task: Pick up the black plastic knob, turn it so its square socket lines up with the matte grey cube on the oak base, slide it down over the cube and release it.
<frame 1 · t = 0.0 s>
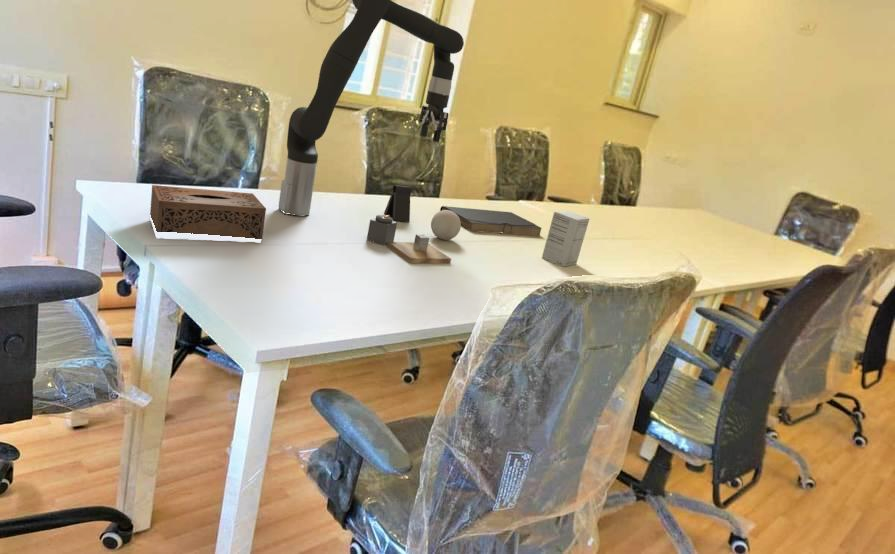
hand: (429, 139, 221), 29 cm above the table, tool pointing down, fingers open, 8 cm apart
file folder: (489, 225, 249), on the table
tissue box cover: (205, 233, 168), on the table
knob: (380, 240, 195), on the table
eye model: (442, 239, 213), on the table
base plate: (418, 254, 189), on the table
matte grey cube: (421, 243, 188), on the base plate, point 4 cm above the table
supplement box: (558, 261, 218), on the table
phone stand: (396, 218, 226), on the table
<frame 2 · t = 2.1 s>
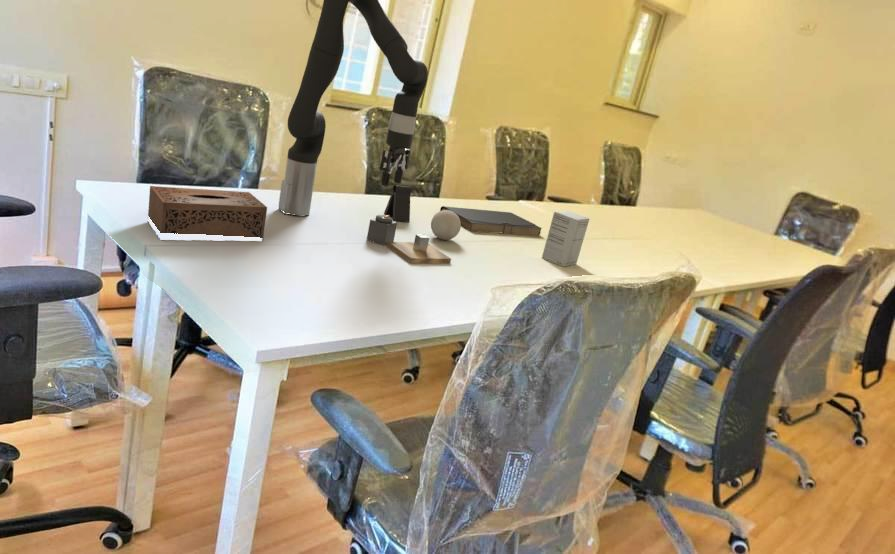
hand: (391, 184, 189), 18 cm above the table, tool pointing down, fingers open, 8 cm apart
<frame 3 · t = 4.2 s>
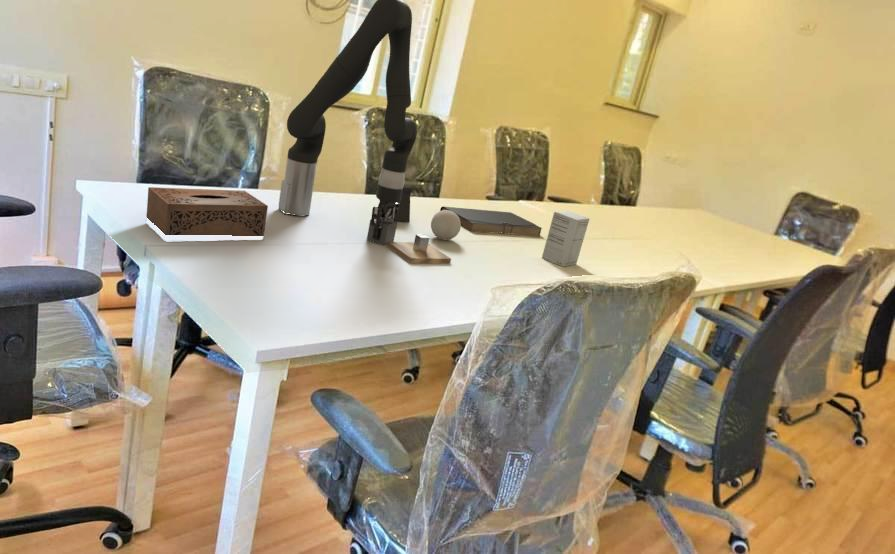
hand: (381, 237, 194), 1 cm above the table, tool pointing down, fingers closed on knob, 6 cm apart
knob: (380, 240, 195), on the table, touching gripper
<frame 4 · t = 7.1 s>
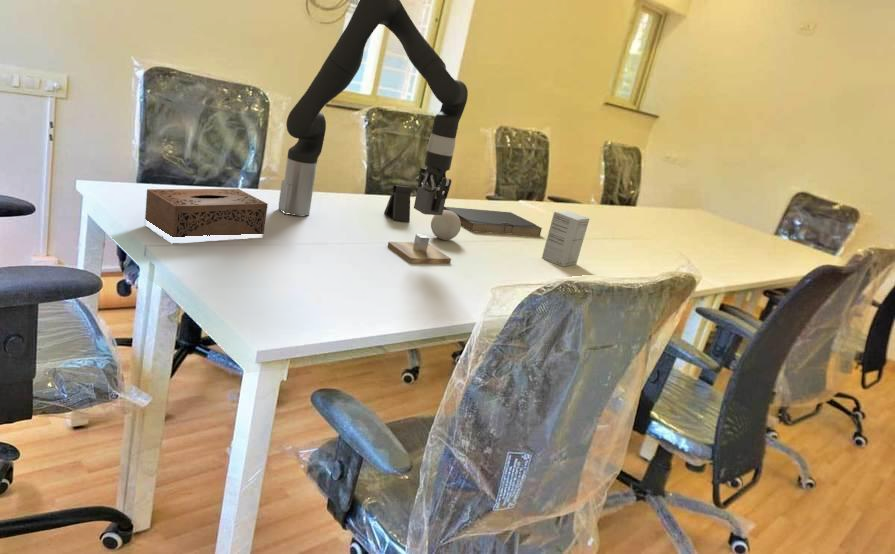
hand: (428, 207, 185), 15 cm above the table, tool pointing down, fingers closed on knob, 6 cm apart
knob: (427, 211, 185), point 14 cm above the table, touching gripper
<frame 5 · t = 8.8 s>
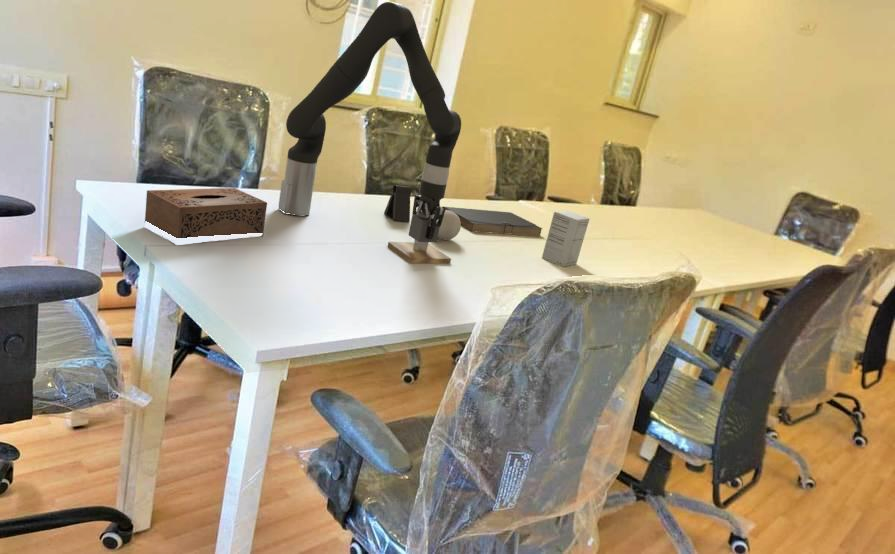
hand: (423, 234, 187), 6 cm above the table, tool pointing down, fingers closed on knob, 6 cm apart
knob: (422, 238, 188), point 5 cm above the table, touching gripper
when the fingers open (4 cm above the table, at t = 9.9 s): knob stays where it is, resting on base plate.
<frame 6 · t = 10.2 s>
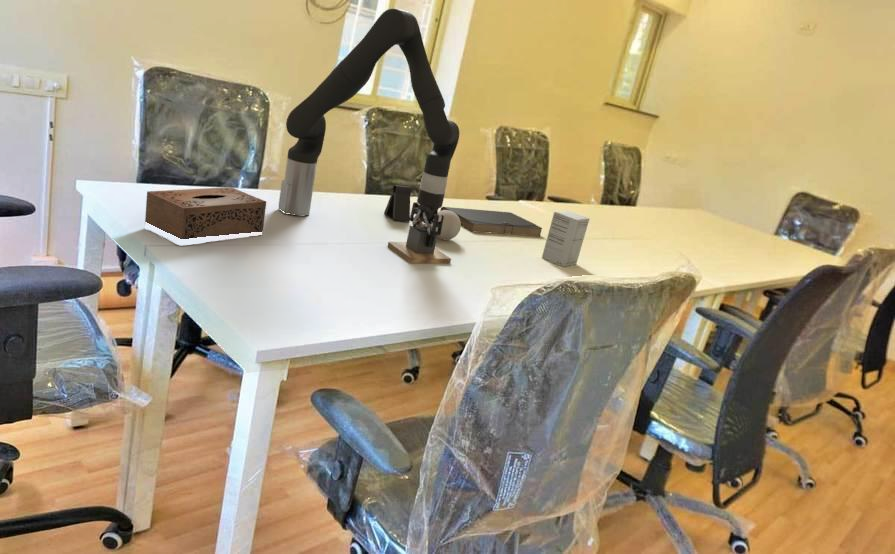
hand: (421, 242, 188), 4 cm above the table, tool pointing down, fingers open, 8 cm apart
knob: (419, 250, 189), point 1 cm above the table, touching base plate
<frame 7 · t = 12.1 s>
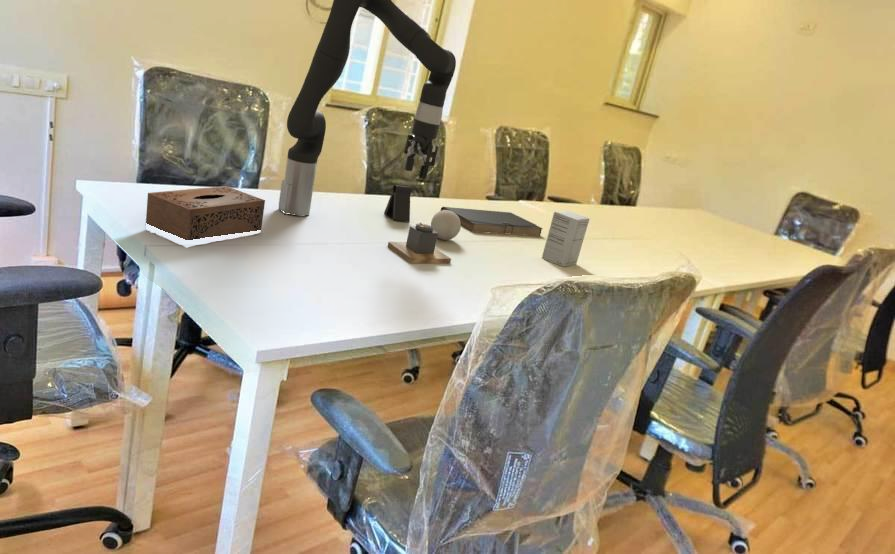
hand: (415, 174, 188), 22 cm above the table, tool pointing down, fingers open, 8 cm apart
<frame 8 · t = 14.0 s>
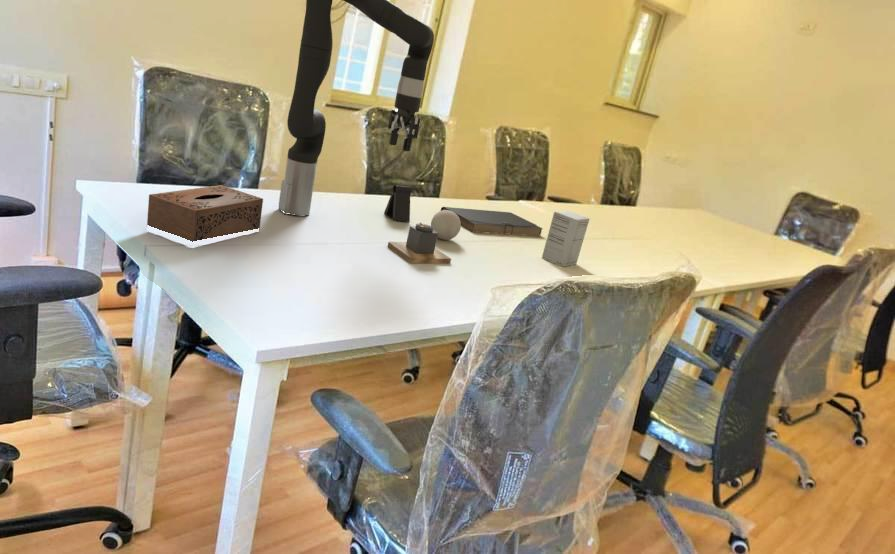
hand: (399, 147, 193), 28 cm above the table, tool pointing down, fingers open, 8 cm apart
at the end: knob 0.0 cm off-centre on the matte grey cube, point 1.5 cm above the matte grey cube's base; knob tilted 0°; the gripper is holding nothing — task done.
